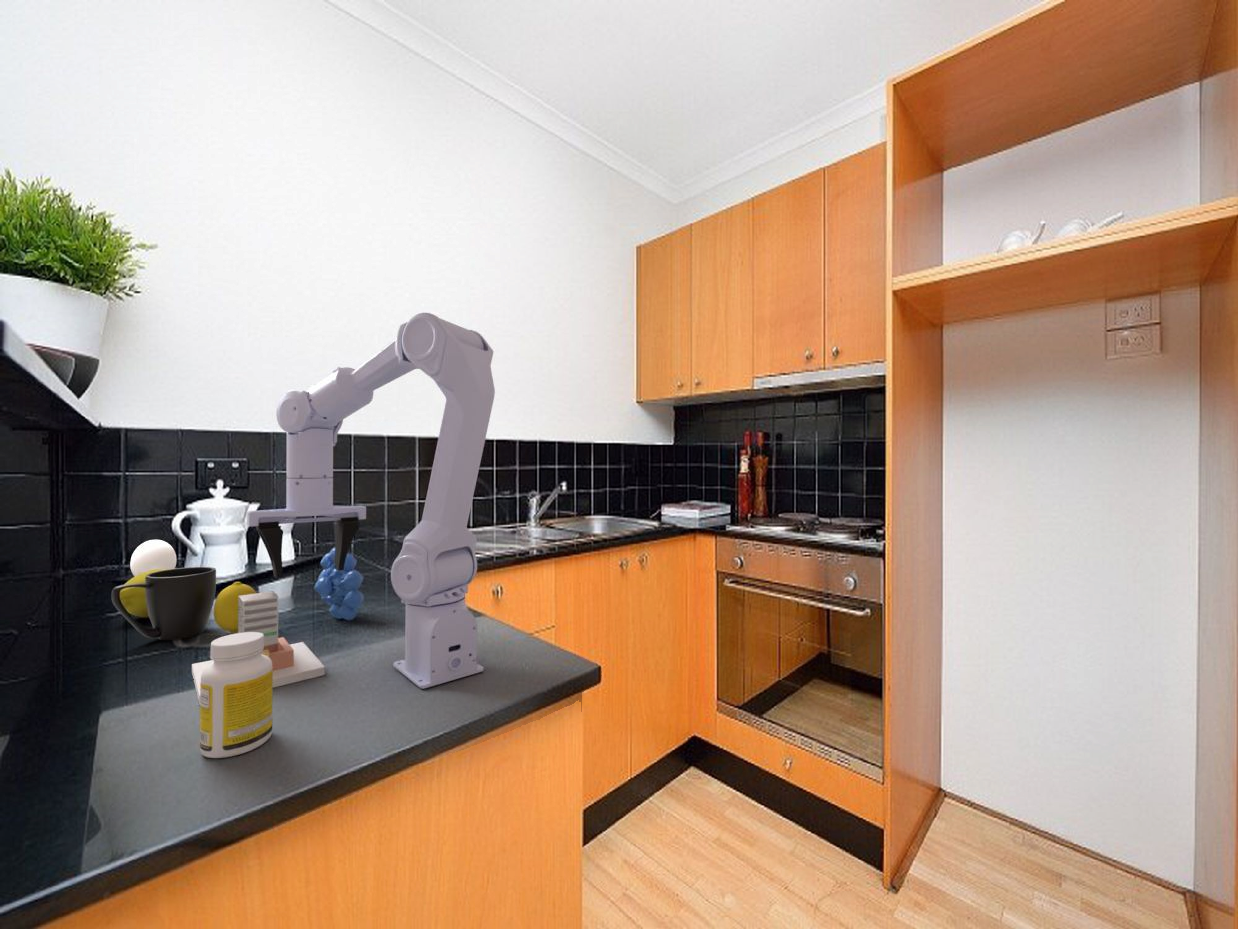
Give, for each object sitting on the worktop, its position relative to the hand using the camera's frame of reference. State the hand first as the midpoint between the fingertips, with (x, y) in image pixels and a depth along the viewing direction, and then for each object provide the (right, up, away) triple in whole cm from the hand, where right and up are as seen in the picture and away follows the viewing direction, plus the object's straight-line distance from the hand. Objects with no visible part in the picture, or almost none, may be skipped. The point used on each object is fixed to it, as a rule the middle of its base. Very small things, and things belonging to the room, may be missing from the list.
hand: (309, 572), depth 74 cm
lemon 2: (-14, -11, +5) cm, 18 cm away
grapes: (-3, -11, +12) cm, 16 cm away
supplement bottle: (+9, -11, -26) cm, 29 cm away
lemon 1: (-34, -11, +13) cm, 38 cm away
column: (0, -7, -10) cm, 12 cm away
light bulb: (-47, -10, +27) cm, 55 cm away
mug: (-23, -11, +3) cm, 26 cm away
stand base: (0, -10, -10) cm, 14 cm away
